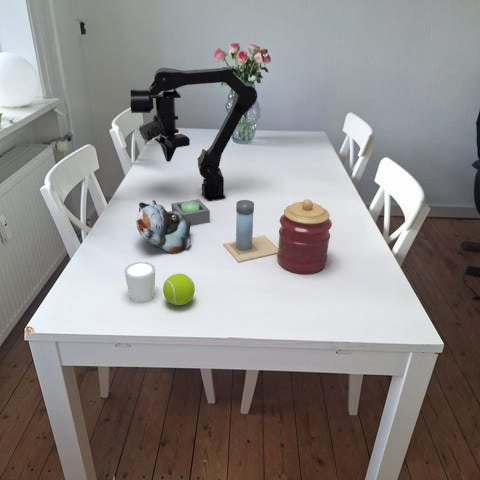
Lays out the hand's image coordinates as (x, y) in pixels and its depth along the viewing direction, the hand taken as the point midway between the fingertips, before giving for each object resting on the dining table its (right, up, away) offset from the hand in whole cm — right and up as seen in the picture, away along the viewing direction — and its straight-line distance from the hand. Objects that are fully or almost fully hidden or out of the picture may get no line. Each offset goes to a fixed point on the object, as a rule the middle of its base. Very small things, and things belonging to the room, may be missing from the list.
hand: (168, 161), depth 149 cm
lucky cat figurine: (+3, -27, -21) cm, 34 cm away
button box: (+8, -19, -7) cm, 21 cm away
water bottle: (+24, -27, -22) cm, 43 cm away
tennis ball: (+9, -40, -44) cm, 60 cm away
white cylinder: (0, -38, -42) cm, 57 cm away
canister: (+39, -31, -27) cm, 57 cm away
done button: (+8, -18, -7) cm, 21 cm away
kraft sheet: (+26, -28, -22) cm, 44 cm away
